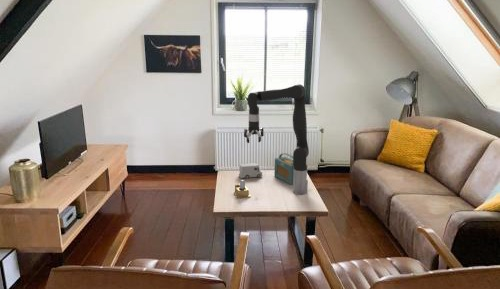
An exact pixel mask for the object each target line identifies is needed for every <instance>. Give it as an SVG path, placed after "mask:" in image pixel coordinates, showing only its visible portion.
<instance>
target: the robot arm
mask: <svg viewBox="0 0 500 289" xmlns="http://www.w3.org/2000/svg"><path fill="white" fill-rule="evenodd" d="M305 88H306V87H304V85H302V84H299V83H298V84H293V85H292V86H289V87H286V88H279V89H266V90H260V91H252V92H250V93H248V95H247V105H248V128H244V130H243V137H245V139H246V143H247V144H250V137H251V136H252V135H257V136H258V137H257V138H258V139H257V141H258V143H261V141H262V137H264V135H265V134H264V132H265V131H264V128H263V127H260V106H258V102H262V101H263V102H265V101H275V100H279V99H280V100H281V99H293V104H294V105H293V106H294V108H293V113H292V128H293V132H294V135H295V138H296V148H295V149H294V150H293V155H292V156H293V158H292V160H293V166H294V177H293V185H292V193H293V194H294V195H297V196H298V195H299V196H303V195H306V194H307V193H308V186H309V185H308V182H309V181H308V164H307V158H308V156H309V152H310V150H309V145H308V137H307V136H308V130H307V129H308V128H307V125H308V123H307V111H306V89H305ZM259 131H260V132H259Z"/></svg>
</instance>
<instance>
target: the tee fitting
mask: <svg viewBox="0 0 500 289" xmlns="http://www.w3.org/2000/svg"><path fill="white" fill-rule="evenodd" d="M249 193H250V192H249V188H248V187H247V186H245V190H240V183H238V184H234V193H233V194H234V196H235V197H236V199H238V200H239V199H247V198H248V199H249V198H251V197H252V196H251V194H249Z"/></svg>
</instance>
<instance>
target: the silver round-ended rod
mask: <svg viewBox="0 0 500 289" xmlns="http://www.w3.org/2000/svg"><path fill="white" fill-rule="evenodd" d="M239 184H240V190H245V187H246V180H244V179H240V180H239Z"/></svg>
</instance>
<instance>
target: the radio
mask: <svg viewBox="0 0 500 289" xmlns="http://www.w3.org/2000/svg"><path fill="white" fill-rule="evenodd" d="M283 155H285V156H283ZM287 156H288V157H287ZM289 157H290V158H289ZM274 177H276V178H278V179H279V180H281V181H283V182H285V183H286V184H289V185H290V186H291V185H292V186H293V177H294V166H293V155H291V154H289V153H280V154H279V156H278V157H275V158H274Z"/></svg>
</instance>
